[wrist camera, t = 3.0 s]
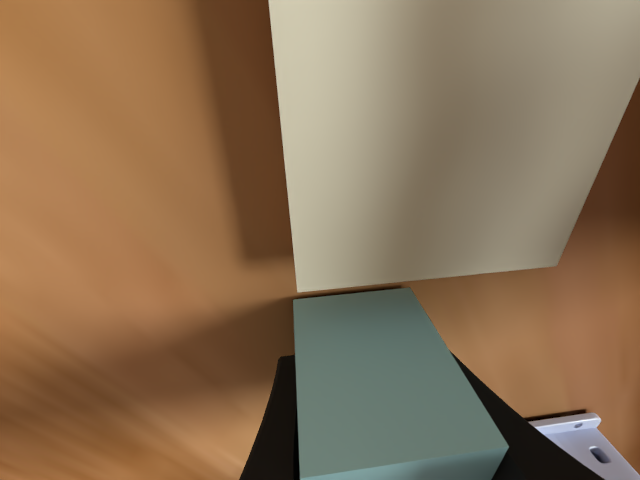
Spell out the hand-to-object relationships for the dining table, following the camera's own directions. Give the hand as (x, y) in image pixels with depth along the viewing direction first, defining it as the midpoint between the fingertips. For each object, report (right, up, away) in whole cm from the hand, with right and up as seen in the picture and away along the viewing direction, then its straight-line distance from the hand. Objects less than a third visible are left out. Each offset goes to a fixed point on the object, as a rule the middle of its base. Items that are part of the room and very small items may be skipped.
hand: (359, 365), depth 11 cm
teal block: (0, +1, +1) cm, 1 cm away
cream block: (+1, +8, -2) cm, 8 cm away
